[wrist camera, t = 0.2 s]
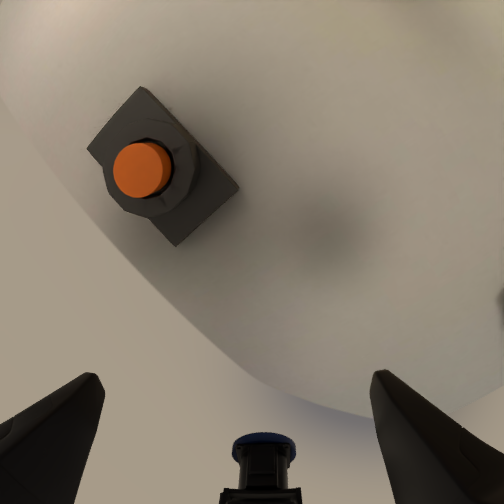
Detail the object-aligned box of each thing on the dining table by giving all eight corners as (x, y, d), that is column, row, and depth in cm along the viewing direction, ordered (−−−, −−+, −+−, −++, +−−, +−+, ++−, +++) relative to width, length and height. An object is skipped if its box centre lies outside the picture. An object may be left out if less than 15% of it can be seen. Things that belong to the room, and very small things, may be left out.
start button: (182, 168, 18) (173, 171, 16) (147, 203, 18) (137, 209, 17) (148, 132, 17) (137, 131, 15) (116, 168, 18) (103, 171, 16)
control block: (240, 187, 20) (236, 194, 18) (179, 242, 22) (167, 257, 19) (147, 87, 18) (129, 80, 15) (93, 148, 20) (71, 150, 17)
